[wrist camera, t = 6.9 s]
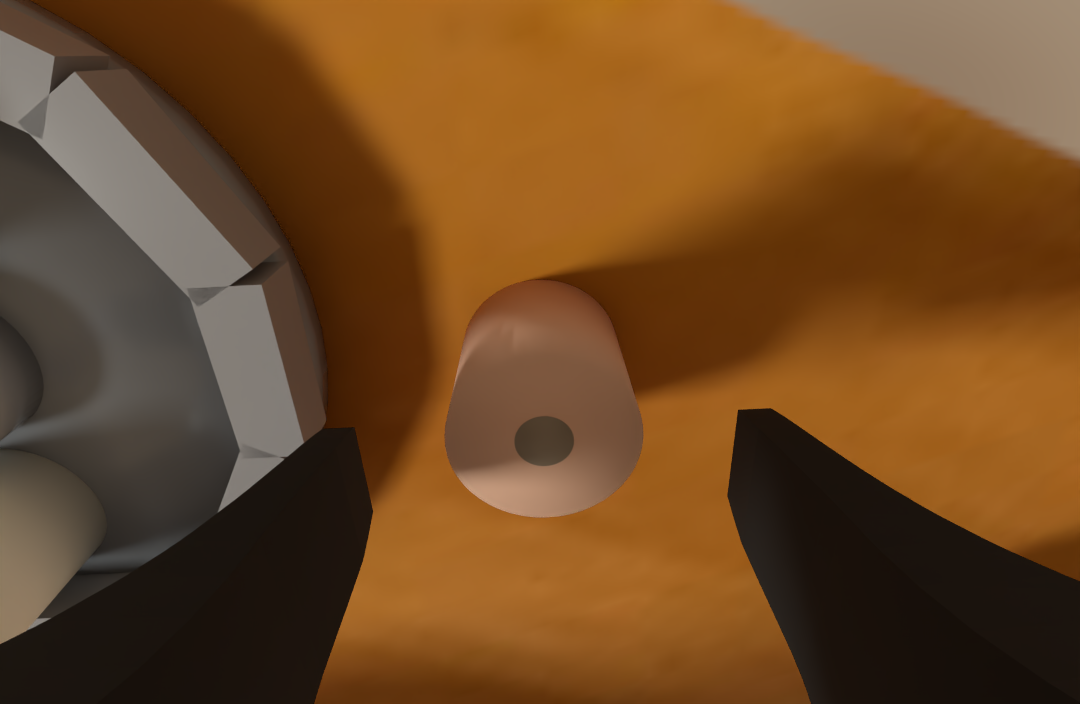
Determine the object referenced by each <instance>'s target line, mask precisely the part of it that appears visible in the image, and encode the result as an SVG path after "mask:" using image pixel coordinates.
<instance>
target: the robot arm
mask: <svg viewBox="0 0 1080 704" xmlns="http://www.w3.org/2000/svg"><path fill="white" fill-rule="evenodd" d="M728 499H729V503H730V506H731V510H732V513H733V517H734V520H735V523H736V527H737V530H738V533H739V536H740V539H741V542H742V545H743V547H744V549H745V552H746V554H747V556H748V558H749V561H750V563H751V565H752V567H753V570H754V572H755V574H756V576H757V578H758V581H759V583H760V585H761V587H762V589H763V591H764V594H765V596H766V598H767V600H768V602H769V604H770V607H771V609H772V611H773V613H774V615H775V618H776V620H777V622H778V624H779V626H780V628H781V631H782V633H783V635H784V637H785V639H786V641H787V644H788V646H789V648H790V650H791V652H792V654H793V657H794V659H795V662H796V664H797V667H798V669H799V671H800V674H801V676H802V679H803V681H804V684H805V687H806V690H807V693H808V696H809V699H810V702H811V704H1080V581H1078V580H1075V579H1073V578H1070V577H1068V576H1065V575H1063V574H1061V573H1058V572H1056V571H1054V570H1051V569H1049V568H1047V567H1045V566H1042V565H1040V564H1038V563H1035V562H1033V561H1031V560H1029V559H1026V558H1024V557H1022V556H1020V555H1017V554H1015V553H1013V552H1011V551H1008V550H1006V549H1004V548H1002V547H1000V546H998V545H996V544H994V543H991V542H989V541H987V540H985V539H983V538H981V537H979V536H977V535H975V534H974V533H972V532H970V531H968V530H966V529H964V528H962V527H960V526H958V525H956V524H954V523H952V522H950V521H948V520H946V519H944V518H942V517H941V516H939V515H937V514H935V513H933V512H931V511H930V510H928V509H926V508H924V507H922V506H921V505H919V504H917V503H916V502H914V501H912V500H911V499H909V498H907V497H906V496H904V495H902V494H901V493H899V492H897V491H896V490H894V489H892V488H890V487H889V486H887V485H885V484H884V483H882V482H881V481H879V480H878V479H876V478H874V477H873V476H871V475H870V474H868V473H867V472H865V471H863V470H862V469H860V468H859V467H857V466H856V465H854V464H853V463H851V462H850V461H848V460H847V459H845V458H844V457H842V456H841V455H839V454H838V453H836V452H835V451H833V450H832V449H831V448H829V447H828V446H826V445H825V444H823V443H822V442H820V441H819V440H818V439H816V438H815V437H813V436H812V435H810V434H809V433H807V432H806V431H805V430H803V429H802V428H800V427H799V426H797V425H796V424H794V423H793V422H791V421H790V420H789V419H787V418H786V417H784V416H782V415H781V414H779V413H778V412H776V411H774V410H773V409H771V408H769V409H747V410H738V415H737V423H736V431H735V439H734V447H733V455H732V463H731V471H730V479H729V488H728ZM372 514H373V509H372V505H371V500H370V496H369V491H368V487H367V482H366V478H365V473H364V469H363V464H362V460H361V455H360V451H359V446H358V442H357V437H356V433H355V428H354V427H352V428H330V429H321V430H320V431H319V432H317V433H316V434H315V435H313V436H312V437H311V438H309V439H308V440H307V441H306V442H304V443H303V444H302V445H301V446H300V447H298V448H297V449H296V450H295V451H294V452H292V453H291V454H290V455H289V456H288V457H286V458H285V459H284V460H283V461H282V462H281V463H279V464H278V465H277V466H276V467H275V468H273V469H272V470H271V471H270V472H268V473H267V474H266V475H265V476H264V477H262V478H261V479H260V480H259V481H257V482H256V483H255V484H254V485H253V486H251V487H250V488H249V489H248V490H247V491H245V492H244V493H243V494H242V495H240V496H239V497H238V498H236V499H235V500H234V501H232V502H231V503H230V504H228V505H227V506H226V507H224V508H223V509H222V510H221V511H219V512H218V513H217V514H215V515H214V516H213V517H211V518H210V519H209V520H207V521H206V522H205V523H203V524H202V525H201V526H199V527H198V528H197V529H195V530H194V531H193V532H191V533H190V534H188V535H187V536H186V537H184V538H183V539H181V540H180V541H178V542H177V543H176V544H174V545H173V546H171V547H170V548H168V549H167V550H165V551H164V552H162V553H161V554H159V555H158V556H156V557H154V558H153V559H151V560H150V561H148V562H147V563H145V564H143V565H142V566H140V567H139V568H137V569H136V570H134V571H133V572H131V573H129V574H128V575H126V576H124V577H123V578H121V579H119V580H118V581H116V582H114V583H112V584H111V585H109V586H107V587H105V588H104V589H102V590H100V591H98V592H97V593H95V594H93V595H91V596H90V597H88V598H86V599H84V600H82V601H81V602H79V603H77V604H75V605H74V606H72V607H70V608H68V609H67V610H65V611H63V612H61V613H59V614H58V615H56V616H54V617H52V618H50V619H48V620H47V621H45V622H43V623H41V624H39V625H37V626H35V627H33V628H31V629H29V630H27V631H25V632H23V633H21V634H19V635H17V636H15V637H13V638H11V639H9V640H7V641H5V642H3V643H1V644H0V704H314V702H315V698H316V695H317V692H318V689H319V685H320V682H321V679H322V676H323V673H324V670H325V667H326V664H327V661H328V659H329V656H330V653H331V650H332V647H333V645H334V642H335V639H336V636H337V633H338V630H339V628H340V625H341V622H342V619H343V616H344V614H345V611H346V608H347V605H348V602H349V600H350V597H351V594H352V591H353V588H354V585H355V582H356V579H357V577H358V574H359V571H360V568H361V565H362V562H363V558H364V553H365V549H366V544H367V540H368V535H369V530H370V525H371V519H372Z"/></svg>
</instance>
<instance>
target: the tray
mask: <svg viewBox="0 0 1080 704" xmlns="http://www.w3.org/2000/svg"><path fill="white" fill-rule="evenodd" d="M327 405H328V367H327V360H326V354H325V348H324V341H323V335H322V328H321V325H320V322H319V318H318V315H317V312H316V308H315V305H314V302H313V298H312V295H311V292H310V289H309V286H308V284H307V281H306V279H305V277H304V275H303V272H302V270H301V268H300V266H299V263H298V261H297V259H296V257H295V255H294V252H293V250H292V248H291V246H290V244H289V242H288V240H287V239H286V237H285V235H284V233H283V232H282V230H281V228H280V227H279V225H278V223H277V222H276V220H275V218H274V217H273V215H272V213H271V212H270V210H269V208H268V207H267V205H266V203H265V202H264V200H263V199H262V197H261V196H260V195H259V193H258V192H257V191H256V189H255V188H254V187H253V185H252V184H251V183H250V182H249V180H248V179H247V178H246V176H245V175H244V174H243V172H242V171H241V170H240V168H239V167H238V166H237V164H236V163H235V162H234V160H233V159H232V158H231V156H230V155H229V154H228V153H227V152H226V151H225V150H224V149H223V148H222V147H221V146H220V145H219V144H218V142H217V141H216V140H215V139H214V138H213V137H212V136H211V135H210V134H209V133H208V132H207V131H206V130H205V129H204V128H203V126H202V125H201V124H200V123H199V122H198V121H197V120H196V119H195V118H194V117H193V116H192V115H191V114H190V113H189V112H188V111H187V110H186V109H185V108H184V107H182V106H181V105H180V104H179V103H178V102H177V101H176V100H174V99H173V98H172V97H171V96H170V95H169V94H168V93H166V92H165V91H164V90H163V89H162V88H161V87H160V86H158V85H157V84H156V83H155V82H154V81H153V80H151V79H150V78H149V77H148V76H147V75H146V74H145V73H143V72H142V71H141V70H140V69H138V68H137V67H135V66H134V65H132V64H131V63H130V62H128V61H127V60H125V59H124V58H123V57H121V56H120V55H118V54H117V53H115V52H114V51H113V50H111V49H110V48H108V47H107V46H106V45H104V44H103V43H101V42H100V41H98V40H97V39H96V38H94V37H93V36H91V35H90V34H89V33H87V32H85V31H83V30H82V29H80V28H78V27H76V26H74V25H73V24H71V23H69V22H67V21H66V20H64V19H62V18H60V17H58V16H57V15H55V14H53V13H51V12H50V11H48V10H46V9H44V8H42V7H41V6H39V5H37V4H35V3H34V2H32V1H30V0H0V449H13V450H19V451H25V452H29V453H32V454H36V455H39V456H41V457H44V458H47V459H49V460H51V461H53V462H56V463H57V464H59V465H61V466H63V467H65V468H66V469H68V470H69V471H71V472H72V473H74V474H75V475H76V476H78V477H79V478H80V479H81V480H82V481H83V482H84V483H85V484H86V485H87V486H88V487H89V488H90V489H91V490H92V491H93V492H94V494H95V495H96V496H97V498H98V499H99V501H100V503H101V505H102V507H103V509H104V512H105V516H106V522H107V529H106V534H105V537H104V539H103V541H102V543H101V544H100V546H99V547H98V548H97V549H96V550H95V552H94V553H93V554H92V555H91V556H90V557H89V558H88V560H87V561H86V562H85V563H84V564H83V565H82V567H81V568H80V569H79V570H78V571H77V572H76V574H75V575H74V576H73V577H72V578H71V579H70V581H69V582H68V583H67V584H66V585H65V586H64V588H63V589H62V590H61V591H60V592H59V593H58V594H57V596H56V597H55V598H54V599H53V600H52V601H51V603H50V604H49V605H48V606H47V607H46V608H45V610H44V611H43V612H42V613H41V614H40V615H39V617H38V618H37V619H36V620H35V621H34V622H33V624H32V625H31V626H30V627H29V628H28V629H27V630H29V629H31V628H33V627H35V626H37V625H39V624H41V623H43V622H45V621H47V620H48V619H50V618H52V617H54V616H56V615H58V614H59V613H61V612H63V611H65V610H67V609H68V608H70V607H72V606H74V605H75V604H77V603H79V602H81V601H82V600H84V599H86V598H88V597H90V596H91V595H93V594H95V593H97V592H98V591H100V590H102V589H104V588H105V587H107V586H109V585H111V584H112V583H114V582H116V581H118V580H119V579H121V578H123V577H124V576H126V575H128V574H129V573H131V572H133V571H134V570H136V569H137V568H139V567H140V566H142V565H143V564H145V563H147V562H148V561H150V560H151V559H153V558H154V557H156V556H158V555H159V554H161V553H162V552H164V551H165V550H167V549H168V548H170V547H171V546H173V545H174V544H176V543H177V542H178V541H180V540H181V539H183V538H184V537H186V536H187V535H188V534H190V533H191V532H193V531H194V530H195V529H197V528H198V527H199V526H201V525H202V524H203V523H205V522H206V521H207V520H209V519H210V518H211V517H213V516H214V515H215V514H217V513H218V512H219V511H221V510H222V509H223V508H224V507H226V506H227V505H228V504H230V503H231V502H232V501H234V500H235V499H236V498H238V497H239V496H240V495H242V494H243V493H244V492H245V491H247V490H248V489H249V488H250V487H251V486H253V485H254V484H255V483H256V482H257V481H259V480H260V479H261V478H262V477H264V476H265V475H266V474H267V473H268V472H270V471H271V470H272V469H273V468H275V467H276V466H277V465H278V464H279V463H281V462H282V461H283V460H284V459H285V458H286V457H288V456H289V455H290V454H291V453H292V452H294V451H295V450H296V449H297V448H298V447H300V446H301V445H302V444H303V443H304V442H306V441H307V440H308V439H309V438H311V437H312V436H313V435H315V434H316V433H317V432H319V431H320V430H321V429H324V424H325V422H326V420H327V419H326V411H327ZM27 630H26V631H27Z"/></svg>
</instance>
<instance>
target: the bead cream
mask: <svg viewBox="0 0 1080 704" xmlns="http://www.w3.org/2000/svg"><path fill="white" fill-rule="evenodd" d="M106 529H107V522H106V516H105V512H104V509H103V507H102V505H101V503H100V501H99V499H98V498H97V496H96V495H95V494H94V492H93V491H92V490H91V489H90V488H89V487H88V486H87V485H86V484H85V483H84V482H83V481H82V480H81V479H80V478H79V477H78V476H76V475H75V474H74V473H72V472H71V471H69V470H68V469H66V468H65V467H63V466H61V465H59V464H57V463H56V462H53V461H51V460H49V459H47V458H44V457H41V456H39V455H36V454H32V453H29V452H25V451H19V450H13V449H0V644H1V643H3V642H5V641H7V640H9V639H11V638H13V637H15V636H17V635H19V634H21V633H23V632H25V631H26V630H27V629H28V628H29V627H30V626H31V625H32V624H33V622H34V621H35V620H36V619H37V618H38V617H39V615H40V614H41V613H42V612H43V611H44V610H45V608H46V607H47V606H48V605H49V604H50V603H51V601H52V600H53V599H54V598H55V597H56V596H57V594H58V593H59V592H60V591H61V590H62V589H63V588H64V586H65V585H66V584H67V583H68V582H69V581H70V579H71V578H72V577H73V576H74V575H75V574H76V572H77V571H78V570H79V569H80V568H81V567H82V565H83V564H84V563H85V562H86V561H87V560H88V558H89V557H90V556H91V555H92V554H93V553H94V552H95V550H96V549H97V548H98V547H99V546H100V544H101V543H102V541H103V539H104V537H105V534H106Z"/></svg>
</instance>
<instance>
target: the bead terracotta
mask: <svg viewBox="0 0 1080 704" xmlns="http://www.w3.org/2000/svg"><path fill="white" fill-rule="evenodd" d="M642 443H643V424H642V419H641V415H640V411H639V408H638V405H637V402H636V398H635V395H634V392H633V389H632V385H631V382H630V379H629V376H628V372H627V369H626V366H625V363H624V359H623V356H622V353H621V350H620V346H619V343H618V340H617V337H616V333H615V330H614V327H613V325H612V322H611V320H610V318H609V316H608V315H607V313H606V312H605V310H604V309H603V308H602V306H601V305H600V304H599V303H598V302H597V301H596V300H595V299H594V298H592V297H591V296H590V295H588V294H587V293H586V292H584V291H582V290H580V289H579V288H576V287H574V286H572V285H569V284H566V283H562V282H559V281H552V280H530V281H524V282H520V283H516V284H513V285H510V286H508V287H505V288H503V289H502V290H500V291H498V292H496V293H495V294H493V295H492V296H491V297H489V298H488V299H487V300H486V301H485V302H484V303H483V304H482V305H481V306H480V307H479V308H478V310H477V311H476V312H475V314H474V315H473V317H472V319H471V320H470V323H469V325H468V327H467V330H466V334H465V338H464V342H463V347H462V352H461V356H460V361H459V365H458V370H457V375H456V379H455V384H454V388H453V393H452V398H451V402H450V407H449V411H448V416H447V421H446V426H445V447H446V451H447V456H448V459H449V461H450V464H451V466H452V468H453V470H454V472H455V473H456V475H457V477H458V478H459V479H460V481H461V482H462V483H463V484H464V485H465V486H466V487H467V488H468V489H469V490H470V491H471V492H472V493H473V494H474V495H476V496H477V497H478V498H480V499H481V500H483V501H484V502H486V503H488V504H489V505H491V506H493V507H496V508H498V509H500V510H503V511H506V512H509V513H512V514H517V515H522V516H529V517H556V516H563V515H568V514H572V513H576V512H579V511H582V510H585V509H587V508H589V507H592V506H594V505H596V504H598V503H599V502H601V501H603V500H605V499H606V498H607V497H609V496H610V495H611V494H613V493H614V492H615V491H616V490H617V489H618V488H619V487H620V486H621V485H622V484H623V483H624V482H625V481H626V480H627V478H628V477H629V476H630V474H631V472H632V471H633V469H634V468H635V466H636V463H637V461H638V459H639V456H640V452H641V449H642Z"/></svg>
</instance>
